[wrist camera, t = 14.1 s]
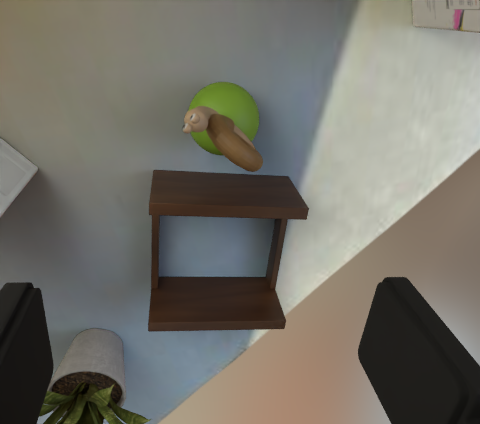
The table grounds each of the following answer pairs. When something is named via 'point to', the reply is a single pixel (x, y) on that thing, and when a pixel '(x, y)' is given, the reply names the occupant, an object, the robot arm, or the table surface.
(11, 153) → the small box
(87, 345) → the house plant
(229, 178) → the frame
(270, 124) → the table surface
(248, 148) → the snail figurine
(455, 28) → the ink cartridge box
